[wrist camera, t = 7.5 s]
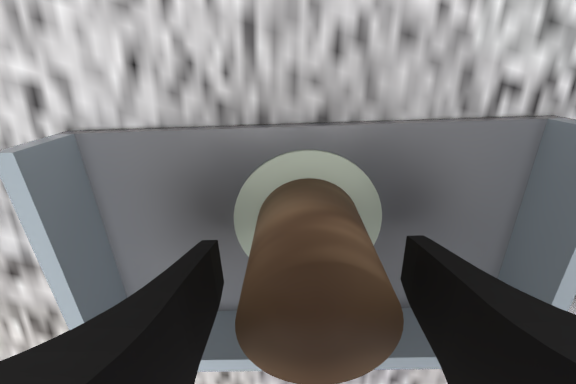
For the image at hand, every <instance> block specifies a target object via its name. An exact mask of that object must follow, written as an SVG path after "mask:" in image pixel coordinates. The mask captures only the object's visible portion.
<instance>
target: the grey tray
mask: <svg viewBox="0 0 576 384" xmlns="http://www.w3.org/2000/svg"><path fill="white" fill-rule="evenodd" d="M0 178H1V180H2V182H3V184H4V187H5V189H6V191H7V193H8V195H9V198H10V200H11V202H12V204H13V207H14V209H15V211H16V213H17V215H18V218H19V220H20V222H21V224H22V226H23V229H24V231H25V233H26V235H27V237H28V240H29V242H30V244H31V246H32V249H33V251H34V253H35V255H36V257H37V260H38V262H39V264H40V266H41V268H42V271H43V273H44V275H45V277H46V279H47V282H48V284H49V286H50V288H51V291H52V293H53V295H54V297H55V299H56V302H57V304H58V306H59V308H60V310H61V313H62V315H63V317H64V319H65V321H66V324H67V326H68V328H69V330H71V329H73V328H75V327H77V326H79V325H81V324H83V323H85V322H86V321H88V320H90V319H92V318H94V317H95V316H97V315H99V314H101V313H103V312H105V311H106V310H108V309H110V308H111V307H113V306H115V305H116V304H118V303H120V302H121V301H123V300H124V299H126V298H128V297H129V296H131V295H132V294H134V293H135V292H137V291H138V290H139V289H141V288H142V287H144V286H145V285H146V284H148V283H149V282H150V281H152V280H153V279H154V278H156V277H157V276H158V275H160V274H161V273H162V272H164V271H165V270H166V269H168V268H169V267H170V266H171V265H172V264H174V263H175V262H176V261H177V260H178V259H180V258H181V257H182V256H183V255H184V254H186V253H187V252H188V251H189V250H190V249H192V248H193V247H194V246H195V245H196V244H198V243H199V242H200V241H202V240H218V245H219V251H220V258H221V265H222V271H223V278H224V286H223V291H222V296H221V301H220V306H219V309H218V312H217V315H216V318H215V321H214V324H213V327H212V330H211V333H210V336H209V338H208V341H207V344H206V347H205V350H204V353H203V356H202V359H201V362H200V365H199V368H198V371H197V372H213V371H263V370H261V369H260V368H259V367H257V366H256V365H255V364H254V363H253V362H251V361H250V360H249V358H248V357H247V356H246V355H245V354H244V352H243V350H242V349H241V347H240V345H239V343H238V340H237V337H236V332H235V319H236V313H237V309H238V304H239V300H240V295H241V291H242V286H243V282H244V277H245V273H246V268H247V264H248V259H249V255H250V250H251V246H252V241H253V237H254V232H255V228H256V223H257V219H258V214H259V211H260V208H261V206H262V204H263V202H264V201H265V199H266V198H267V197H268V196H269V195H270V193H272V192H273V191H274V190H275V189H276V188H278V187H280V186H281V185H283V184H285V183H287V182H290V181H293V180H297V179H304V178H315V179H321V180H325V181H328V182H331V183H333V184H335V185H337V186H338V187H340V188H341V189H342V190H344V191H345V192H346V193H347V194H348V195H349V196H350V198H351V199H352V201H353V202H354V204H355V206H356V208H357V211H358V213H359V215H360V217H361V219H362V222H363V224H364V226H365V228H366V230H367V232H368V235H369V237H370V239H371V241H372V243H373V246H374V248H375V250H376V252H377V254H378V256H379V259H380V261H381V263H382V265H383V267H384V270H385V272H386V274H387V276H388V278H389V280H390V283H391V285H392V287H393V289H394V291H395V294H396V296H397V298H398V300H399V302H400V304H401V308H402V311H403V318H404V325H403V332H402V336H401V339H400V341H399V343H398V345H397V347H396V348H395V350H394V351H393V353H392V354H391V355H390V356H389V357H388V358H387V359H386V360H385V361H384V362H383V363H382V364H381V365H379V366H378V367H377V368H375V369H374V370H384V369H442V368H441V366H440V364H439V362H438V360H437V358H436V356H435V354H434V352H433V350H432V348H431V346H430V344H429V342H428V340H427V338H426V336H425V334H424V333H423V331H422V329H421V327H420V325H419V323H418V321H417V319H416V317H415V315H414V313H413V311H412V309H411V307H410V305H409V302H408V300H407V297H406V294H405V292H404V289H403V286H402V283H401V280H400V278H401V272H402V265H403V258H404V251H405V245H406V238H407V236H415V235H424V236H426V237H427V238H429V239H431V240H433V241H435V242H436V243H438V244H440V245H441V246H443V247H444V248H446V249H448V250H449V251H451V252H453V253H454V254H456V255H457V256H459V257H461V258H462V259H464V260H466V261H467V262H469V263H471V264H472V265H474V266H476V267H477V268H479V269H481V270H483V271H484V272H486V273H488V274H490V275H492V276H493V277H495V278H497V279H499V280H501V281H503V282H505V283H506V284H508V285H510V286H512V287H514V288H516V289H518V290H520V291H522V292H525V293H527V294H529V295H531V296H533V297H535V298H537V299H539V300H542V301H544V302H546V303H548V304H551V305H553V306H555V307H558V308H560V309H562V310H565V311H567V312H568V310H569V308H570V306H571V304H572V302H573V299H574V297H575V295H576V119H570V118H565V117H559V116H533V117H502V118H470V119H439V120H408V121H377V122H345V123H314V124H283V125H251V126H220V127H189V128H158V129H126V130H95V131H65V132H62V133H58V134H55V135H51V136H48V137H45V138H41V139H38V140H34V141H31V142H27V143H24V144H20V145H17V146H13V147H10V148H6V149H3V150H0Z"/></svg>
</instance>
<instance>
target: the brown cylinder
mask: <svg viewBox="0 0 576 384" xmlns="http://www.w3.org/2000/svg"><path fill="white" fill-rule="evenodd" d="M403 325H404V318H403V311H402V308H401V304H400V302H399V300H398V298H397V296H396V294H395V291H394V289H393V287H392V285H391V283H390V280H389V278H388V276H387V274H386V272H385V270H384V267H383V265H382V263H381V261H380V259H379V256H378V254H377V252H376V250H375V248H374V246H373V243H372V241H371V239H370V237H369V235H368V232H367V230H366V228H365V226H364V224H363V222H362V219H361V217H360V215H359V213H358V211H357V208H356V206H355V204H354V202H353V201H352V199H351V198H350V196H349V195H348V194H347V193H346V192H345V191H344V190H342V189H341V188H340V187H338V186H337V185H335V184H333V183H331V182H328V181H325V180H321V179H315V178H304V179H297V180H293V181H290V182H287V183H285V184H283V185H281V186H280V187H278V188H276V189H275V190H274V191H273V192H272V193H270V195H269V196H268V197H267V198H266V199H265V201H264V202H263V204H262V206H261V208H260V211H259V214H258V219H257V223H256V228H255V232H254V237H253V241H252V246H251V250H250V255H249V259H248V264H247V268H246V273H245V277H244V282H243V286H242V291H241V295H240V300H239V304H238V309H237V313H236V319H235V332H236V337H237V340H238V343H239V345H240V347H241V349H242V350H243V352H244V354H245V355H246V356H247V357H248V358H249V360H250V361H251V362H253V363H254V364H255V365H256V366H257V367H259V368H260V369H261V370H263V371H264V372H266V373H268V374H270V375H272V376H274V377H276V378H279V379H282V380H285V381H288V382H292V383H297V384H337V383H341V382H346V381H349V380H352V379H355V378H358V377H360V376H363V375H365V374H367V373H368V372H370V371H372V370H374V369H375V368H377V367H378V366H379V365H381V364H382V363H383V362H384V361H385V360H386V359H387V358H388V357H389V356H390V355H391V354H392V353H393V351H394V350H395V348H396V347H397V345H398V343H399V341H400V339H401V336H402V332H403Z"/></svg>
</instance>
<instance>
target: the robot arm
mask: <svg viewBox="0 0 576 384" xmlns="http://www.w3.org/2000/svg"><path fill="white" fill-rule="evenodd" d="M400 280H401V283H402V286H403V289H404V292H405V294H406V297H407V300H408V302H409V305H410V307H411V309H412V311H413V313H414V315H415V317H416V319H417V321H418V323H419V325H420V327H421V329H422V331H423V333H424V334H425V336H426V338H427V340H428V342H429V344H430V346H431V348H432V350H433V352H434V354H435V356H436V358H437V360H438V362H439V364H440V366H441V368H442V370H443V373H444V375H445V377H446V380H447V382H448V384H576V315H575V314H572V313H570V312H567V311H565V310H562V309H560V308H558V307H555V306H553V305H551V304H548V303H546V302H544V301H542V300H539V299H537V298H535V297H533V296H531V295H529V294H527V293H525V292H522V291H520V290H518V289H516V288H514V287H512V286H510V285H508V284H506V283H505V282H503V281H501V280H499V279H497V278H495V277H493V276H492V275H490V274H488V273H486V272H484V271H483V270H481V269H479V268H477V267H476V266H474V265H472V264H471V263H469V262H467V261H466V260H464V259H462V258H461V257H459V256H457V255H456V254H454V253H453V252H451V251H449V250H448V249H446V248H444V247H443V246H441V245H440V244H438V243H436V242H435V241H433V240H431V239H429V238H427V237H426V236H424V235H415V236H407V238H406V245H405V251H404V258H403V265H402V272H401V278H400ZM223 286H224V278H223V271H222V265H221V258H220V251H219V245H218V240H202V241H200V242H199V243H198V244H196V245H195V246H194V247H193V248H192V249H190V250H189V251H188V252H187V253H186V254H184V255H183V256H182V257H181V258H180V259H178V260H177V261H176V262H175V263H174V264H172V265H171V266H170V267H169V268H168V269H166V270H165V271H164V272H162V273H161V274H160V275H158V276H157V277H156V278H154V279H153V280H152V281H150V282H149V283H148V284H146V285H145V286H144V287H142V288H141V289H139V290H138V291H137V292H135V293H134V294H132V295H131V296H129V297H128V298H126V299H124V300H123V301H121V302H120V303H118V304H116V305H115V306H113V307H111V308H110V309H108V310H106V311H105V312H103V313H101V314H99V315H97V316H95V317H94V318H92V319H90V320H88V321H86V322H85V323H83V324H81V325H79V326H77V327H75V328H73V329H71V330H69V331H67V332H65V333H63V334H61V335H59V336H57V337H55V338H53V339H51V340H49V341H46V342H44V343H42V344H40V345H38V346H36V347H33V348H31V349H29V350H26V351H24V352H22V353H19V354H17V355H15V356H12V357H10V358H7V359H5V360H2V361H0V384H194V382H195V378H196V375H197V371H198V368H199V365H200V362H201V359H202V356H203V353H204V350H205V347H206V344H207V341H208V338H209V336H210V333H211V330H212V327H213V324H214V321H215V318H216V315H217V312H218V309H219V306H220V301H221V296H222V291H223Z"/></svg>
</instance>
